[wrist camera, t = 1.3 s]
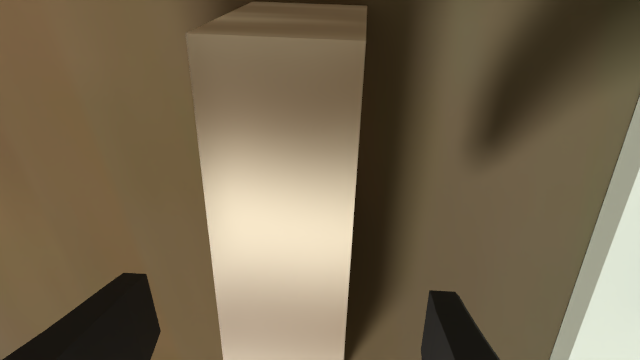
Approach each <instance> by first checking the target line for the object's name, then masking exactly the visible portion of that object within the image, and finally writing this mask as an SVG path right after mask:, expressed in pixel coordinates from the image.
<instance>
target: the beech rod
mask: <svg viewBox="0 0 640 360" xmlns="http://www.w3.org/2000/svg"><path fill="white" fill-rule="evenodd" d="M366 27H367V6H363V5H335V4H308V3H280V2H253V1H252V2H250V3H248V4H246V5H244V6H242V7H240V8H238V9H236V10H234V11H231V12H229V13H227V14H225V15H223V16H221V17H219V18H217V19H215V20H212V21H210V22H208V23H206V24H204V25H202V26H200V27H198V28H196V29H193V30H191V31H189V32H187V33H185V34H186V42H187V51H188V59H189V68H190V77H191V85H192V94H193V102H194V111H195V120H196V128H197V137H198V145H199V154H200V163H201V171H202V180H203V188H204V197H205V206H206V214H207V223H208V231H209V240H210V248H211V257H212V266H213V274H214V283H215V291H216V300H217V309H218V317H219V326H220V334H221V343H222V352H223V360H344V347H345V333H346V319H347V304H348V290H349V276H350V262H351V247H352V233H353V219H354V205H355V190H356V176H357V162H358V148H359V133H360V119H361V105H362V91H363V76H364V62H365V48H366Z"/></svg>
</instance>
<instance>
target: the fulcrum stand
mask: <svg viewBox="0 0 640 360" xmlns="http://www.w3.org/2000/svg"><path fill="white" fill-rule="evenodd" d="M550 360H640V97H639V100H638V103H637V106H636V109H635V111H634V114H633V117H632V120H631V123H630V126H629V129H628V132H627V135H626V138H625V141H624V144H623V147H622V150H621V152H620V155H619V158H618V161H617V164H616V167H615V170H614V173H613V176H612V179H611V182H610V185H609V188H608V190H607V193H606V196H605V199H604V202H603V205H602V208H601V211H600V214H599V217H598V220H597V223H596V226H595V229H594V231H593V234H592V237H591V240H590V243H589V246H588V249H587V252H586V255H585V258H584V261H583V264H582V267H581V269H580V272H579V275H578V278H577V281H576V284H575V287H574V290H573V293H572V296H571V299H570V302H569V305H568V308H567V310H566V313H565V316H564V319H563V322H562V325H561V328H560V331H559V334H558V337H557V340H556V343H555V346H554V348H553V351H552V354H551V357H550Z"/></svg>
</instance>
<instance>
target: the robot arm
mask: <svg viewBox="0 0 640 360" xmlns="http://www.w3.org/2000/svg"><path fill="white" fill-rule="evenodd" d="M160 332H161V331H160V327H159V323H158V319H157V315H156V311H155V307H154V303H153V299H152V295H151V291H150V287H149V283H148V279H147V275H146V274H135V273H123V274H121V275H120V276H119V277H117V278H116V279H114V280H113V281H111V282H110V283H109V284H107V285H106V286H105V287H103V288H102V289H101V290H99V291H98V292H96V293H95V294H94V295H92V296H91V297H90V298H88V299H87V300H86V301H84V302H83V303H82V304H80V305H79V306H78V307H76V308H75V309H74V310H72V311H71V312H70V313H68V314H67V315H65V316H64V317H63V318H61V319H60V320H59V321H57V322H56V323H55V324H53V325H52V326H51V327H49V328H48V329H46V330H45V331H44V332H42V333H41V334H39V335H38V336H36V337H35V338H33V339H32V340H30V341H29V342H27V343H26V344H25V345H23V346H22V347H20V348H19V349H17V350H16V351H14V352H13V353H11V354H10V355H8V356H7V357H5V358H4V359H3V360H150V359H151V356H152V354H153V351H154V348H155V346H156V343H157V340H158V337H159V334H160ZM421 355H422V360H500V359H499V358H498V356H497V355H496V353H495V352H494V351H493V349H492V348H491V346H490V345H489V343H488V342H487V340H486V339H485V337H484V336H483V334H482V333H481V331H480V330H479V328H478V327H477V325H476V324H475V322H474V320H473V319H472V317H471V316H470V314H469V312H468V311H467V309H466V307H465V306H464V304H463V302H462V300H461V299H460V297H459V296H458V295H457V293H456V292H447V291H430V290H429V297H428V304H427V311H426V318H425V325H424V332H423V339H422V346H421Z"/></svg>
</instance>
